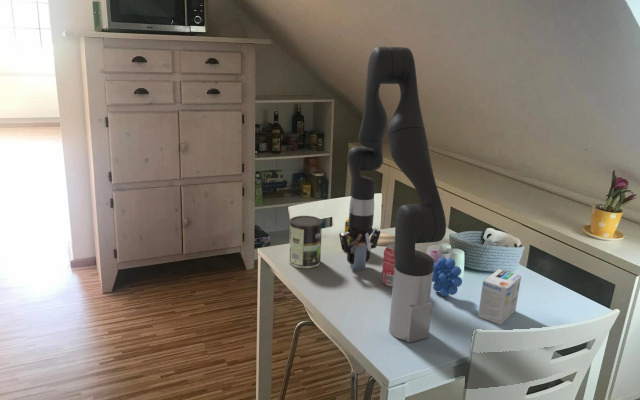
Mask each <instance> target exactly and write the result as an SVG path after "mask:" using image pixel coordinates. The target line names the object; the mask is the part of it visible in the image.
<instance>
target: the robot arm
mask: <svg viewBox="0 0 640 400" xmlns="http://www.w3.org/2000/svg"><path fill="white" fill-rule="evenodd" d="M385 84H386V85H389V84H390V85H398V86H399V88H400V89H399V91H400V97H399V101H398V105H397V107H396V109H395V110H394V111H395V112H394V113H393V116H392V117H391V119H390V122H389V123H388V116H387V112H386V109H385V107H384V105H383V102H382V100H381V98H380V87H381V85H385ZM364 94H365V96H364V106H363V107H364V110H363V114H362V120H361V124H360V125H361V126H360V128H359V133H358V142H359V143H360V145H362V146H353V147H352V148H350V149H349V151H348V153H347V158H346V159H347V160H346V161H347V164H348V165H347V166H348V169H349V173H350V181H351V191H350V192H351V193H350V201H349V208H348V209H349V212H348V218H349V229H348V231H347V232H346V233H345V232H344V233H343V232H340V233H339V234H338V235H339V241H340V245H341V250H342V251H343V250H344V251H343V252H345V253H346V260H347V262H348V264H349V265H350V264H353V263H354V250H355V248H356V247H357V245H358V243H360V242H366V244H367V252H366V263H367V262H369V260H370V257H371V250H372V249H376V248H377V246H378V245H377V242H378V239H379V236H380V232H381V230H379V229H378V228H376V227H374V228H373V225H374V215H375V190H376V181H375V180H374V178H372V177H369V176H365V175H361V171H377V170H379V169H380V168H381V167H382V165H383V164H384V156H383V154H384V153H383V141H384V137H385V133H386V130H387V133H386V134H387V140H388V141H387V142H388V147H389V152H390V155H391V159H392V160H393V161H394V163H395V165H396V166H397V167H398V169H399V170H401V172H402V173H403V175H404V176H406V178H407V179H408V180H409V181H410V182H411V184H412V186H413V187H414V189H415V191H416V193H417V195H418V199H419V202H420V203H411V204H410V203H409V204H402V205H400V207H399V208H397V209H398V210H397V212H396V216H395V223H394V224H395V226H394V227H395V228H394V231H395V232H394V236H395V248H394V253H395V267H394V278H393V287H391V289H392V291H391V300H390V312H389V322H388V323H389V326H388V330H389V333H390V334H391V335H392V336H393V337H394V338H396V339H398V340H402V341H405V342H407V343H414V342H416V341H417V342H418V341H421V340H425V339H428V338H429V334H430V325H431V318H432V317H431V316H432V308H433V303H432V302H431V295H432V294H431V293H432V286H433V284H432V283H433V282H432V277H433V268H434V263H435V261H434V259H433V257H432V256H431V255H429V254H428V253H425V252H424V251H421V250H417V249H416V244H425V243H426V244H428V243H429V244H430V243H438V242H441V241H442V240H443V239H444V238H445V236H446V233H447V220H446V214H445V210H444V207H443V203H442V200H441V197H440V196H441V195H440V193H439V190H438V187H437V183H436V179H435V176H434V170H433V166H432V161H431V155H430V151H429V150H430V149H429V144H428V139H427V133H426V129H425V123H424V120H423V115H422V110H421V105H420V99H419V90H418V81H417V71H416V63H415V57H414V55H413V51H412V50H411V49H410V48H408V47H404V46H377V47H374V49H373V50H371V53H370V56H369V58H368V63H367V72H366V83H365V93H364ZM387 125H388V126H387ZM371 234H372V236H371V239H369V237H370V235H371ZM348 236H350V239H349V242H347V240H348ZM353 241H354V243H353ZM348 243H349V245H348Z"/></svg>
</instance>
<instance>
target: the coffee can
mask: <svg viewBox="0 0 640 400" xmlns="http://www.w3.org/2000/svg"><path fill="white" fill-rule="evenodd" d="M322 227H323V220H322V219H321V218H320V217H317V216H313V215H297V216H293V217H291V218H290V219H289V252H288V253H289V255H288V258H289V259H288V263H289V265H291V266H293V267H295V268H299V269H312V268H313V269H314V268H316V267H319V265H321V262H322V261H321V256H322V255H321V253H322Z"/></svg>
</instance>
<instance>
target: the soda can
mask: <svg viewBox="0 0 640 400" xmlns="http://www.w3.org/2000/svg"><path fill="white" fill-rule="evenodd" d="M394 248H395V243H389V244H387V246H386V247H385V249H384V251H383V261H382V269H381V271H382V273H381V280H382V284H384V285H386V287H390V288H393V278H394V267H395V253H394Z"/></svg>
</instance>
